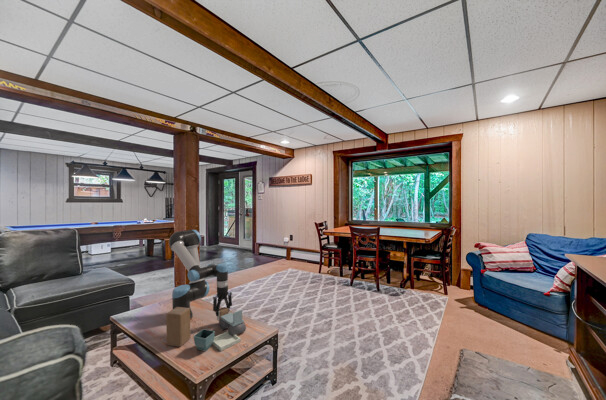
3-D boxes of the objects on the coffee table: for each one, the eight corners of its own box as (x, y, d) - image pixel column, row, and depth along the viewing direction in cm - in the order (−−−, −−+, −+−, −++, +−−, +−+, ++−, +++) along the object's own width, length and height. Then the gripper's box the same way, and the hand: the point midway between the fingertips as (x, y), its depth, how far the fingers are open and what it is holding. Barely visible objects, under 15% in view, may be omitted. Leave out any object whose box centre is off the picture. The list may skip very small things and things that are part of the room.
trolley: (218, 327, 175) (218, 305, 175) (230, 323, 182) (230, 301, 182) (233, 338, 162) (233, 314, 162) (245, 333, 169) (245, 310, 168)
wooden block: (180, 347, 153) (180, 314, 152) (165, 345, 155) (165, 313, 154) (191, 338, 163) (190, 307, 162) (177, 336, 165) (176, 306, 164)
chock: (217, 319, 180) (217, 309, 180) (224, 316, 184) (224, 306, 184) (220, 321, 177) (220, 311, 177) (228, 318, 181) (228, 308, 181)
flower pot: (205, 354, 146) (205, 338, 146) (193, 351, 149) (192, 336, 149) (215, 345, 155) (215, 331, 155) (203, 343, 158) (203, 328, 157)
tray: (210, 342, 158) (210, 338, 158) (229, 333, 168) (229, 330, 168) (220, 351, 149) (220, 347, 149) (240, 341, 159) (240, 338, 159)
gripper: (212, 291, 171) (212, 325, 171) (237, 283, 184) (237, 315, 185) (207, 288, 176) (207, 321, 176) (231, 281, 190) (232, 312, 190)
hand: (222, 318), depth 181 cm, fingers closed on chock, 6 cm apart
